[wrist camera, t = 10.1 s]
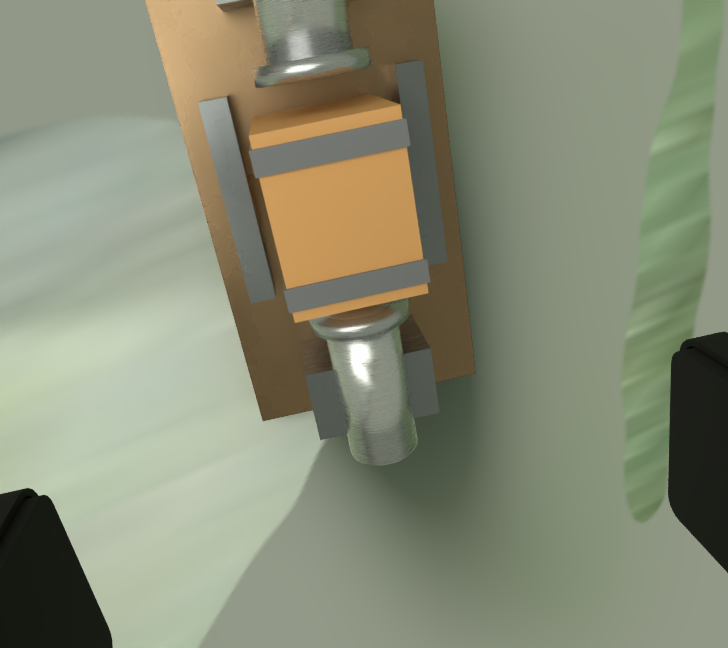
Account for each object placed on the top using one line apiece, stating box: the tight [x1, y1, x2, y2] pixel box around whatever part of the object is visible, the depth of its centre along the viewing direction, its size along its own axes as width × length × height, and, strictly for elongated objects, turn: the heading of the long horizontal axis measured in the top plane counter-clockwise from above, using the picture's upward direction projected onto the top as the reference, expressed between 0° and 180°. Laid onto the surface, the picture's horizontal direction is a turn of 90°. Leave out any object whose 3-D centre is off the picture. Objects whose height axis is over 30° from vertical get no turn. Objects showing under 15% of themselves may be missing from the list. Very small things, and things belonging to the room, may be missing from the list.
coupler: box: [249, 94, 430, 323], centre depth 22 cm, size 6×5×6 cm
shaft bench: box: [145, 0, 476, 466], centre depth 23 cm, size 21×10×6 cm, turn 10°
